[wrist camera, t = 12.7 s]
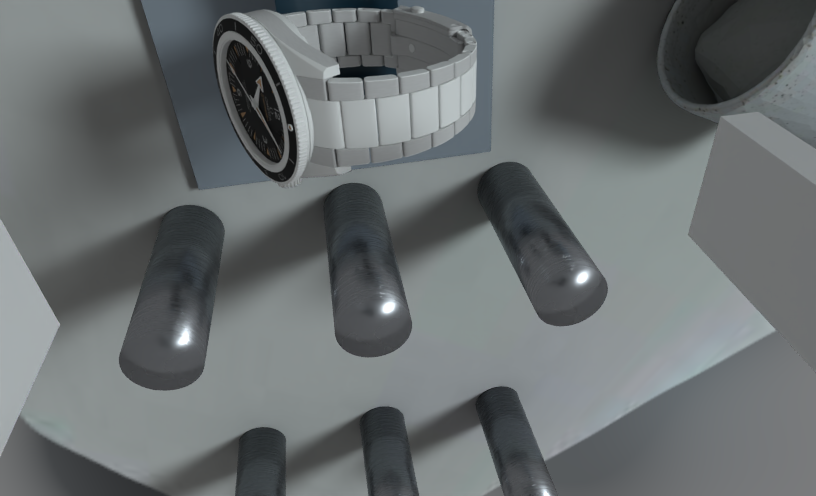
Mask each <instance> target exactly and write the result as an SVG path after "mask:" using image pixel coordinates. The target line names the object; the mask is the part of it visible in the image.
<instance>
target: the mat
mask: <svg viewBox="0 0 816 496" xmlns="http://www.w3.org/2000/svg"><path fill="white" fill-rule="evenodd" d="M141 2H142V6H143V9H144V12H145V15H146V19H147V22H148V25H149V28H150V32H151V35H152V38H153V41H154V45H155V48H156V51H157V54H158V58H159V61H160V64H161V67H162V71H163V74H164V77H165V80H166V84H167V87H168V90H169V94H170V97H171V100H172V103H173V107H174V110H175V113H176V116H177V120H178V123H179V126H180V129H181V133H182V136H183V139H184V142H185V146H186V149H187V152H188V155H189V159H190V162H191V165H192V168H193V172H194V175H195V178H196V181H197V185H198V188H199V190H201V189H209V188H217V187H224V186H232V185H239V184H247V183H254V182H262V181H270V180H271V179H269V178H268V177H267V176H265V174H263V173H262V172H261V170H259V168H258V167H257V166H256V165H255V164H254V162H253V161H252V160H251V158H250V157H249V155H248V154H247V152H246V151H245V149H244V147H243V146H242V144H241V142H240V141H239V139H238V137H237V135H236V133H235V131H234V129H233V127H232V124H231V122H230V120H229V117H228V115H227V112H226V110H225V107H224V104H223V101H222V98H221V94H220V91H219V87H218V83H217V79H216V74H215V68H214V60H213V36H214V30H215V26H216V24H217V22H218V20H219V19H220V18H221V17H222V16H224V15H226V14H230V13H236V12H237V13H238V12H239V13H242V14H243V13H248V12H252V11H256V10H263V9H266V10H271V11H274V12H276V6H275V0H141ZM400 5H401V6H407V7H413V6H420V7H423V8H424V10H425V11H429V12H433V13H436V14H440V15H443V16H446V17H448V18H451V19H454V20H456V21H459V22H461V23H463V24H465V25H467V26H469V27H470V28H471V30H472V35H473V37H474V38H475V39H476V42H477V56H476V57H477V69H476V107H475V113H474V116H473V118H472V119H471V121H469V123H468V125H467V126H466V127H465V128H464V129H463V130H461V131H460V132H459V133H458V134H456V135H454V137H453V138H451V139H449V140H448V141H446V142H444V143H443V144H441V145H439V146H437V147H431V148H430V149H428V150H426V151H423V152H421V153H418V154H415V155H412V156H409V157H404V156H403V157H402V158H399V159H395V160H390V161H385V162H380V163H372V162H371V153H370V148H369V153H370V163H368V164H362V165H353V166H351V170H353V169H361V168H368V167H376V166H384V165H391V164H399V163H406V162H414V161H422V160H429V159H437V158H444V157H452V156H460V155H467V154H475V153H482V152H490V151H491V116H492V73H493V30H494V0H398V7H399V6H400ZM376 117H377V111H376ZM377 129H378V123H377ZM378 141H379V135H378Z"/></svg>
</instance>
